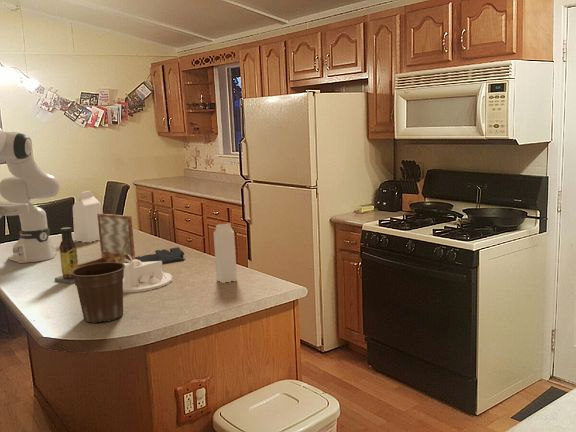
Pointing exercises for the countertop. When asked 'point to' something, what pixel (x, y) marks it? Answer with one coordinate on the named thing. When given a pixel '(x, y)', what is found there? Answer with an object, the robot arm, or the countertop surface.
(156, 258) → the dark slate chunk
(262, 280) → the countertop surface
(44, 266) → the countertop surface
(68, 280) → the slate tile
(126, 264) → the dish
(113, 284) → the plant pot
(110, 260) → the cedar box
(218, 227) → the milk
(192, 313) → the countertop surface
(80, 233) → the milk
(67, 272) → the sauce bottle
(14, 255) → the robot arm
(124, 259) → the brown rounded block
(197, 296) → the countertop surface
